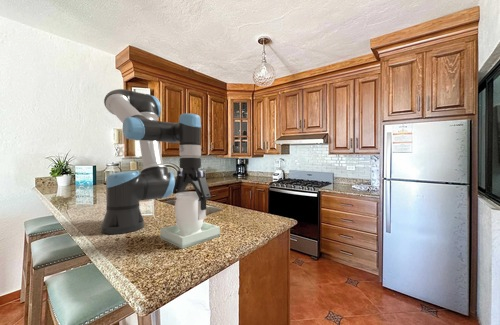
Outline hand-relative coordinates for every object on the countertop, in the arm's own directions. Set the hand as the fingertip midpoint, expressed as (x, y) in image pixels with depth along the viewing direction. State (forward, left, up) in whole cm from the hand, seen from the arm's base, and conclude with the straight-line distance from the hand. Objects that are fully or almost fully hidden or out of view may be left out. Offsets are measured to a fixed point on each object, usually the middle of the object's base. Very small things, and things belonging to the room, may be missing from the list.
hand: (190, 216), depth 79 cm
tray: (0, 0, -8) cm, 8 cm away
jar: (0, 0, -7) cm, 7 cm away
